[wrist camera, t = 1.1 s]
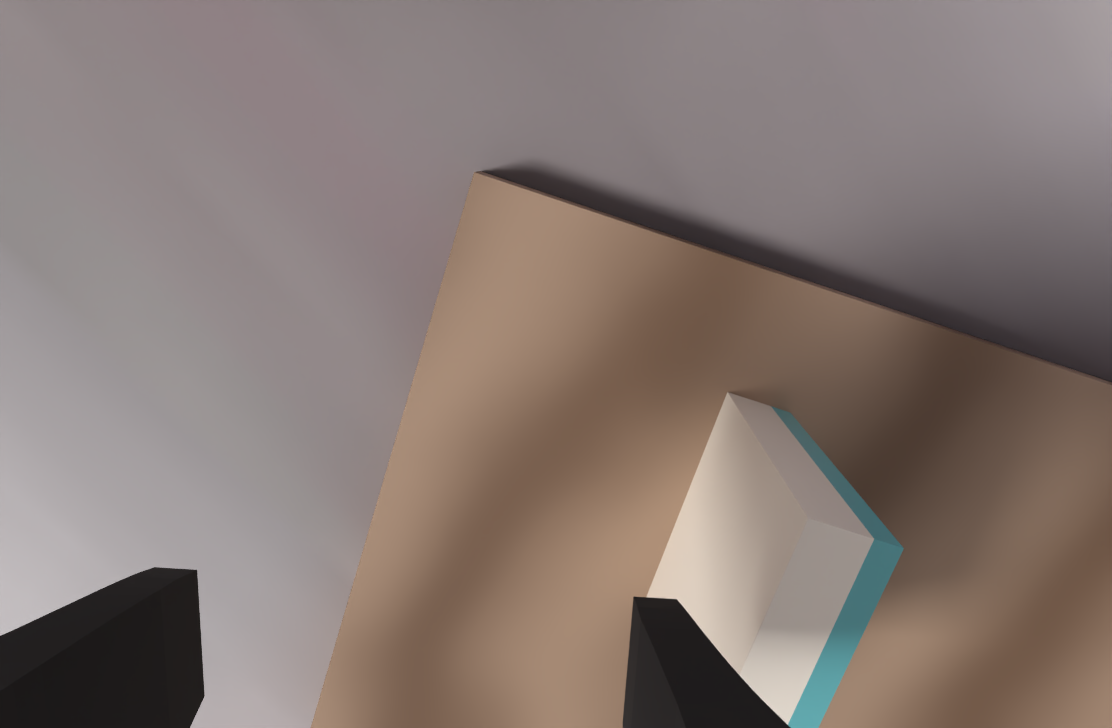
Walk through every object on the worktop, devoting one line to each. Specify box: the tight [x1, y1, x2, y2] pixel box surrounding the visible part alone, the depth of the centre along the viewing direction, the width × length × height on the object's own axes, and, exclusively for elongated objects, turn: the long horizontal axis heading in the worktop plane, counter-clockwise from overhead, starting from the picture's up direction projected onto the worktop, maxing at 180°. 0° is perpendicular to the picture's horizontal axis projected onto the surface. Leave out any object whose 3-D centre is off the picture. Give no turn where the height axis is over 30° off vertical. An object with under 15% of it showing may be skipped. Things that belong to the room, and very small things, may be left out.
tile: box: [647, 392, 904, 728], centre depth 17 cm, size 2×6×7 cm, turn 162°
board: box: [311, 171, 1112, 728], centre depth 22 cm, size 22×16×1 cm
